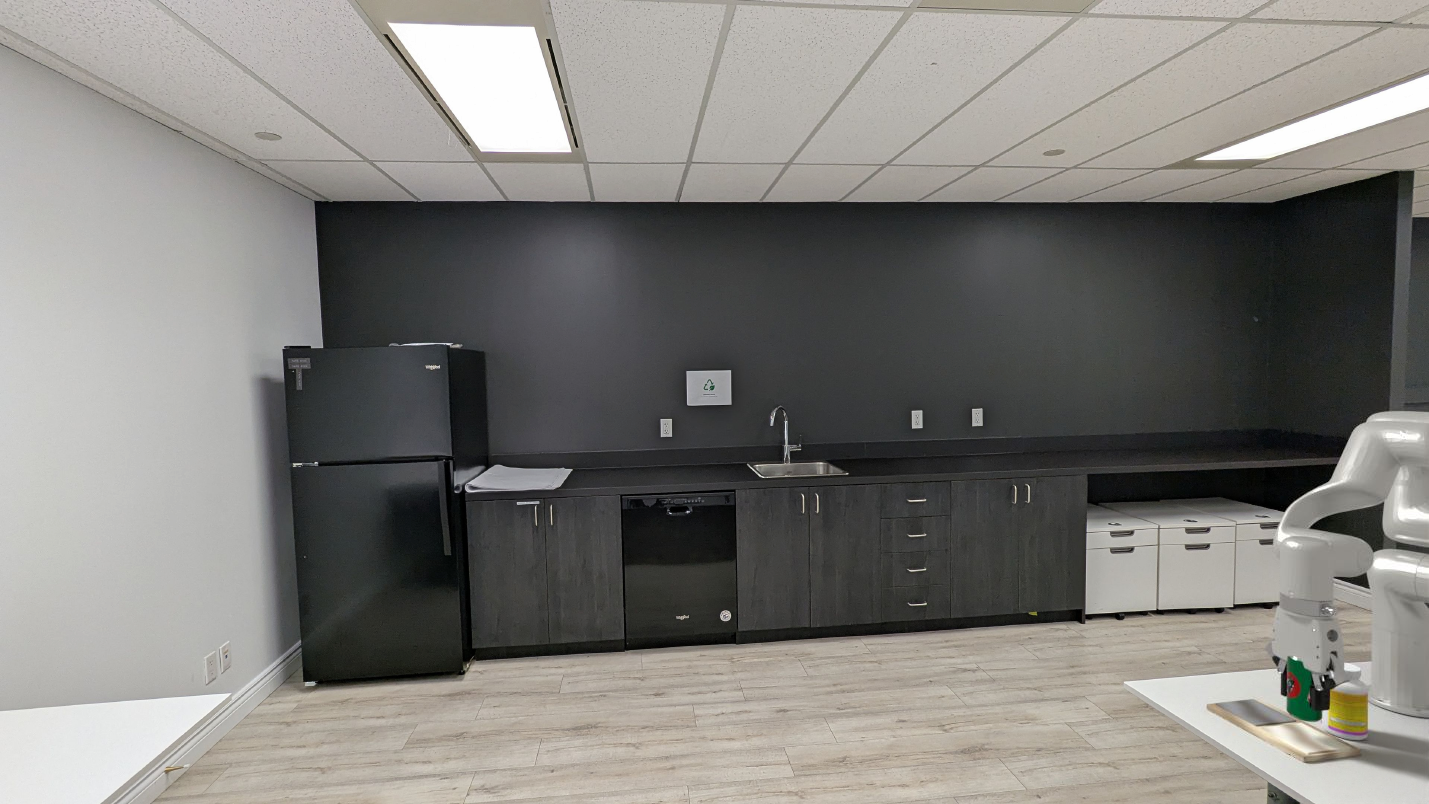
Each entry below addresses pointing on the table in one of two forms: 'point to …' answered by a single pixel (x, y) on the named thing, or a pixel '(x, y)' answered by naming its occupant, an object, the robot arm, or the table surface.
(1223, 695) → the table surface
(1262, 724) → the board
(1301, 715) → the soda can
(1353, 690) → the supplement bottle
